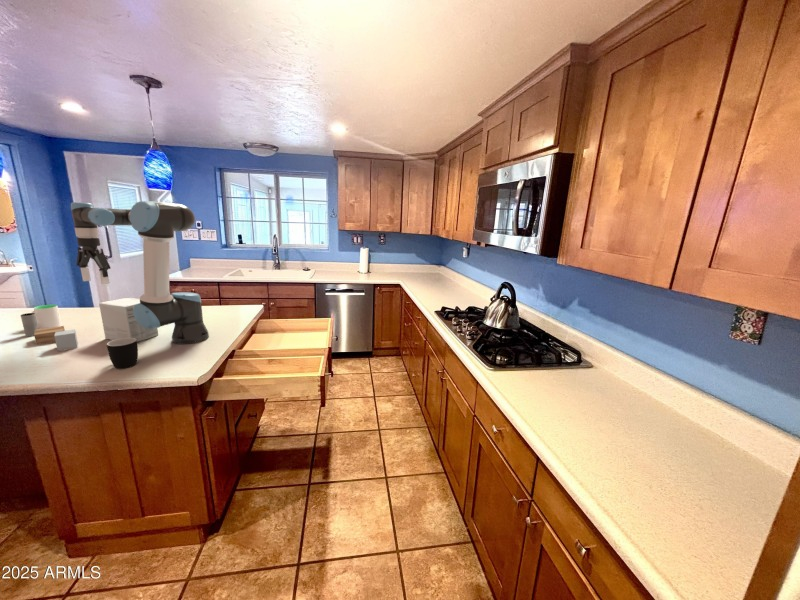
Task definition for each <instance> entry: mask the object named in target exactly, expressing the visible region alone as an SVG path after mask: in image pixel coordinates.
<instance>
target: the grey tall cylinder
mask: <svg viewBox="0 0 800 600" xmlns="http://www.w3.org/2000/svg"><path fill="white" fill-rule="evenodd" d="M20 319H21V322H22V327H23V332H24V335H25V337H35V336H34V333H35V330H36V329H40V328H38V323H37V319H36V315H35V313H29V312H26V313H22V314H20Z"/></svg>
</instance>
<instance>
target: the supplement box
mask: <svg viewBox="0 0 800 600" xmlns="http://www.w3.org/2000/svg"><path fill="white" fill-rule="evenodd" d="M138 303H140V298H133V297H124V298H119V299H118V298H117V299H113V300H108V301H102V302H99V303H98V305H99V311H100V315H101V323H102V328H103V332H104V337H105V339H106V340H110V341H113V340H116V339H121V338H135V339H137V343H138V342H140V341H145V340H148V339H151V338H154V337H158V336H159V330H158V328H152V329H146V328H144V327H142V326H141V325H140V324H139V323H138V322H137V320H136V319H135V317H134V314H133V307H134V306H135V305H136V304H138Z"/></svg>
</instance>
